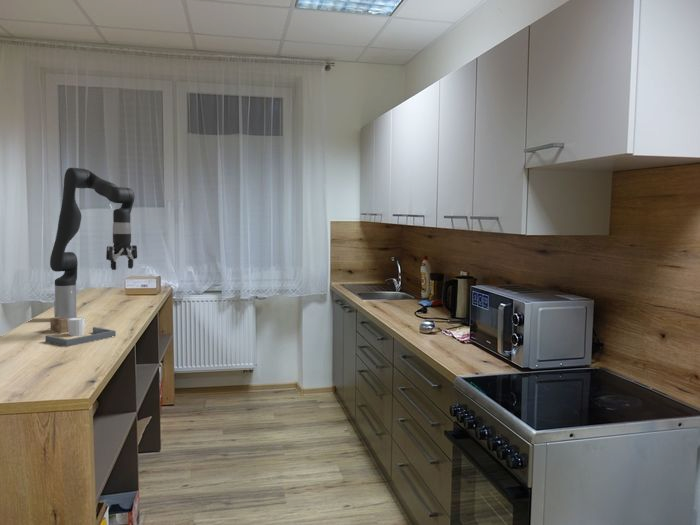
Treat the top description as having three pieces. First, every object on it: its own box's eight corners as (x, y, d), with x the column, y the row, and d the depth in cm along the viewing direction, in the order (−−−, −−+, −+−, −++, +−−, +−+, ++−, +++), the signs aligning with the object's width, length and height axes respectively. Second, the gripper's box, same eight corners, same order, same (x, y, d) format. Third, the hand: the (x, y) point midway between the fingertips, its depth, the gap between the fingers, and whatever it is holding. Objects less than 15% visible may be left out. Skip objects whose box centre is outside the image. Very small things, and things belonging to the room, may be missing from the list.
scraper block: (50, 331, 236) (50, 317, 236) (59, 329, 240) (59, 316, 239) (61, 333, 232) (61, 319, 232) (70, 331, 236) (69, 318, 235)
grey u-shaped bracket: (45, 341, 216) (45, 335, 216) (94, 332, 235) (94, 326, 235) (66, 346, 209) (66, 340, 209) (115, 336, 228) (115, 330, 228)
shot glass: (89, 333, 232) (88, 317, 232) (76, 336, 226) (75, 320, 225) (76, 332, 235) (76, 316, 234) (63, 335, 228) (63, 319, 228)
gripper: (129, 232, 244) (130, 267, 245) (102, 232, 232) (102, 269, 233) (141, 232, 240) (141, 268, 242) (113, 233, 228) (113, 270, 229)
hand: (122, 269), depth 237 cm, fingers open, 8 cm apart
